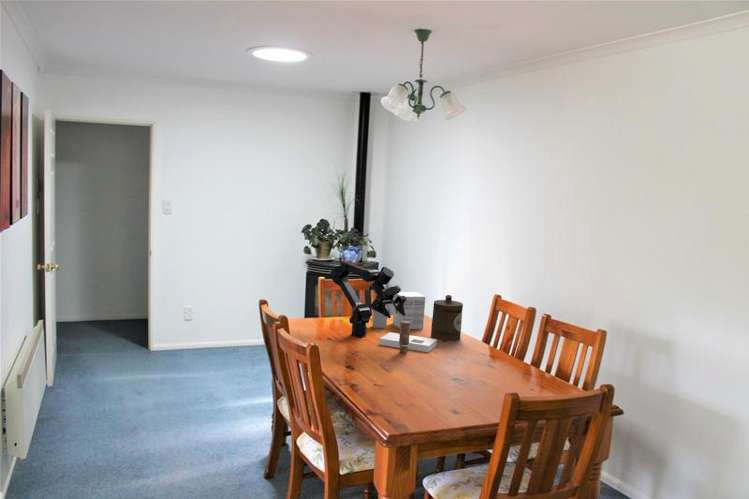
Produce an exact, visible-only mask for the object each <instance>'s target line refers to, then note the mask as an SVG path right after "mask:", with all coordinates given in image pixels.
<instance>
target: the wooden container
mask: <svg viewBox="0 0 749 499" xmlns="http://www.w3.org/2000/svg"><path fill="white" fill-rule="evenodd" d="M444 297H445V298H444V299H437V300H434V301H433V309H432V319H431V327H430V328H431V330H430V337H431V339H437V341H439V340H440V342H447V341H453V342H458V341H460V340H461V331H462V321H463V308H464V305H463V304H464V303H463V302H461V301H456V300H453V296H452V295H450V294H447V295H445V296H444Z"/></svg>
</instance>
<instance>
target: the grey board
mask: <svg viewBox="0 0 749 499" xmlns="http://www.w3.org/2000/svg"><path fill="white" fill-rule="evenodd" d="M399 338H400V333H396V332H388V333H386V334H384V335H383V336H382V337H379V345H380V346H385V347H392V348H399V349H400V345H399ZM437 341H438V340H437V339H433V338H432V337H431V338H430V337H423V336H417V335H416V336H415V335H411V334H409V346H408V347H407V350H411V351H419V352H424V353H429V352H431V351H432V350H433V349H435V348H436V347H437V343H438V342H437Z"/></svg>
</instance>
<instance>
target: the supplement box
mask: <svg viewBox="0 0 749 499" xmlns="http://www.w3.org/2000/svg"><path fill="white" fill-rule="evenodd" d="M397 296H405V297H406V299H407V300H406V301H405V303H404V311H405V316H403V315H401V314H400V313H399V312H398V311H397V310H396V309H395V308H396V307H394V306H393V316H392V324H393V325H395V326H396V327H397V328H399V329H400V323H401V321H407V322H410V330H423V329H424V321H425V320H424V319H425V308H426V307H425V306H426V296H425V295H423V294H422V293H419V292H417V291H400V292H399V293H397V294H395V297H394V298H393V300H395V299H396V298H397Z"/></svg>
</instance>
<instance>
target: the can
mask: <svg viewBox="0 0 749 499" xmlns="http://www.w3.org/2000/svg"><path fill="white" fill-rule="evenodd" d="M386 308H387V309H388V307H387V306H386ZM387 320H388V317H386V316H385V315H383V314H381V313H379V312H377V311H375V310H372V324H371V325H372V328H374V329H379V330H383V329H385V328H386V327H387V323H388V321H387Z"/></svg>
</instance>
